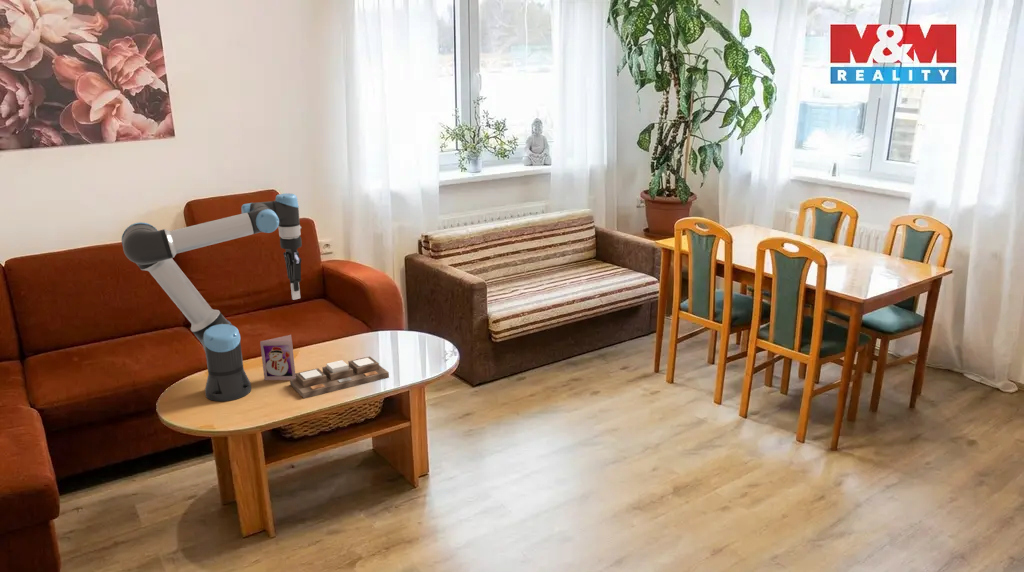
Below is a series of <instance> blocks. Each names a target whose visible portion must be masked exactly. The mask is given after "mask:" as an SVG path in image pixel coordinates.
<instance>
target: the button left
mask: <svg viewBox="0 0 1024 572" xmlns="http://www.w3.org/2000/svg"><path fill="white" fill-rule="evenodd" d="M314 369H315V370H312V369H310V370H311V371H308V370H306V371H307V372H303V371H301V372H302V373H300V376H301V377H302V378H303V379H304V380H306V379H311V378H315V377H319V376H322V374H320V373H319V372H318V371H317V370H316V368H314Z"/></svg>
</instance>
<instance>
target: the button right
mask: <svg viewBox="0 0 1024 572" xmlns="http://www.w3.org/2000/svg"><path fill="white" fill-rule="evenodd" d="M363 358H364V357H363ZM358 359H359V360H356V359H354V360H355V361H353V363H354V364H355V365H356V366H358V367H361V366H366V365H370V364H374V362H373V361H372V360H370V359H369V358H364V359H360V358H358Z"/></svg>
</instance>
